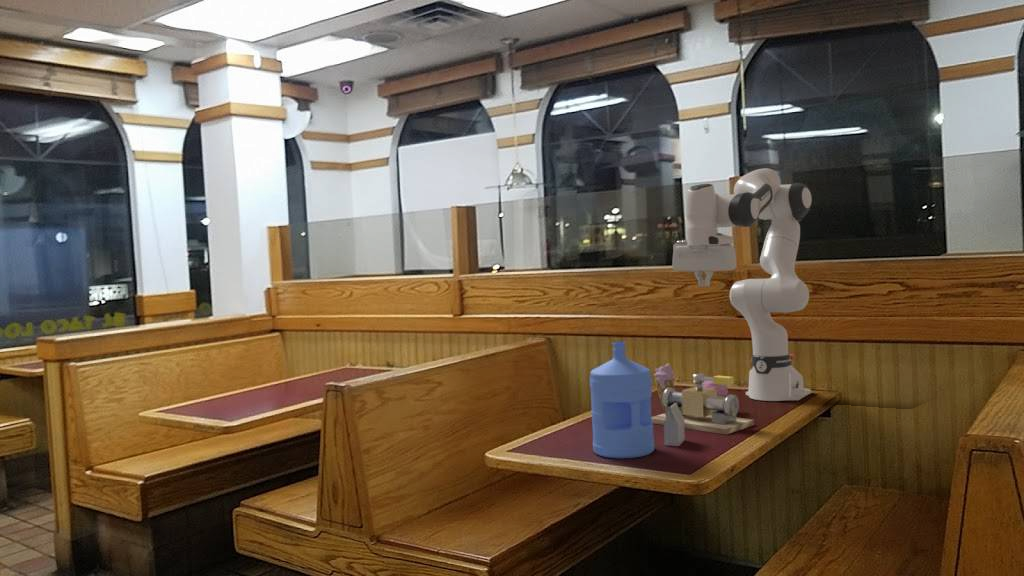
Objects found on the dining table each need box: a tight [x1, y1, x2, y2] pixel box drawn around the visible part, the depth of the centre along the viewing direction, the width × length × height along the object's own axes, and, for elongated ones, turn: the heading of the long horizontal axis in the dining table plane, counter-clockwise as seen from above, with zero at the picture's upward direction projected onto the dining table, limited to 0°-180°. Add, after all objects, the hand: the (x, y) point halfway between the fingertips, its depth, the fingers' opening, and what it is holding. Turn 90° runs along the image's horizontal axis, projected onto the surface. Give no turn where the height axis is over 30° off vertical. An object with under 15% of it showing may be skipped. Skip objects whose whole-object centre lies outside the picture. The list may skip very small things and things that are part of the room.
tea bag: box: [663, 403, 686, 447], centre depth 219 cm, size 4×7×10 cm, turn 155°
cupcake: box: [702, 381, 729, 398], centre depth 254 cm, size 9×9×10 cm
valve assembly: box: [651, 382, 755, 436], centre depth 239 cm, size 14×26×12 cm, turn 43°
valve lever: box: [692, 373, 735, 386], centre depth 236 cm, size 12×3×2 cm, turn 44°
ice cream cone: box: [653, 362, 675, 412], centre depth 259 cm, size 7×6×15 cm
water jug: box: [589, 341, 655, 459], centre depth 212 cm, size 16×16×28 cm
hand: (704, 286), depth 246 cm, fingers closed
